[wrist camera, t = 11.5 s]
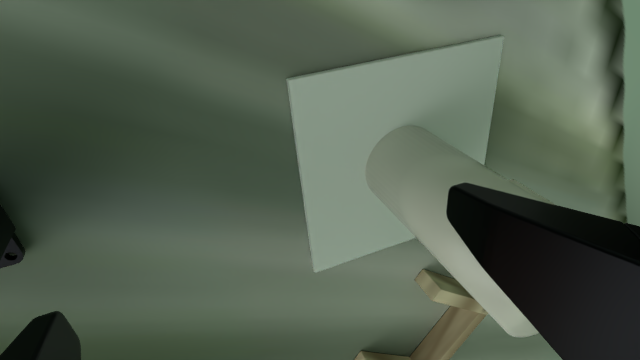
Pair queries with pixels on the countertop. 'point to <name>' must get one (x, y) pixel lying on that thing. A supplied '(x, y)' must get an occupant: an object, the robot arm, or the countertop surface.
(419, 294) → the countertop surface
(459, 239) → the pale grey rounded piece
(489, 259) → the robot arm
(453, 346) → the holder
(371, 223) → the mat
